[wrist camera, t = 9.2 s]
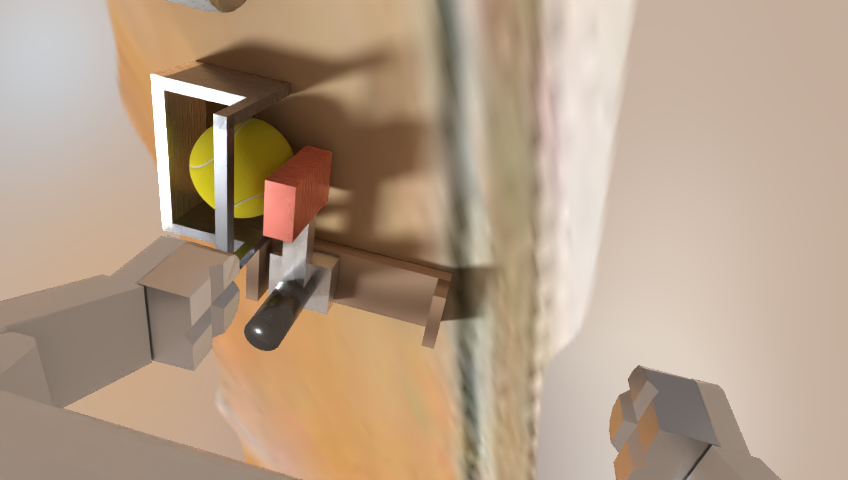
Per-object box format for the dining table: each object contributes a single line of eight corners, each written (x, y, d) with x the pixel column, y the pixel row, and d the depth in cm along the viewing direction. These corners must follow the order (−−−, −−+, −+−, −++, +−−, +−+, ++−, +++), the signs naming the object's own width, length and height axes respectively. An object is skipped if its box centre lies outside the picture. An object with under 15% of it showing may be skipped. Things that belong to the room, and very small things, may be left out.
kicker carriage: (286, 140, 38) (227, 184, 31) (352, 156, 38) (308, 205, 31) (278, 284, 45) (228, 350, 37) (335, 299, 45) (295, 368, 37)
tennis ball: (205, 133, 41) (148, 164, 35) (272, 89, 38) (223, 114, 32) (260, 207, 43) (215, 248, 37) (327, 171, 40) (290, 209, 34)
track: (267, 225, 44) (247, 246, 41) (452, 273, 43) (446, 298, 39) (265, 275, 46) (246, 298, 43) (440, 321, 45) (433, 348, 42)
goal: (194, 60, 38) (107, 87, 30) (290, 83, 38) (226, 117, 30) (199, 202, 44) (126, 256, 36) (282, 224, 43) (227, 283, 36)
